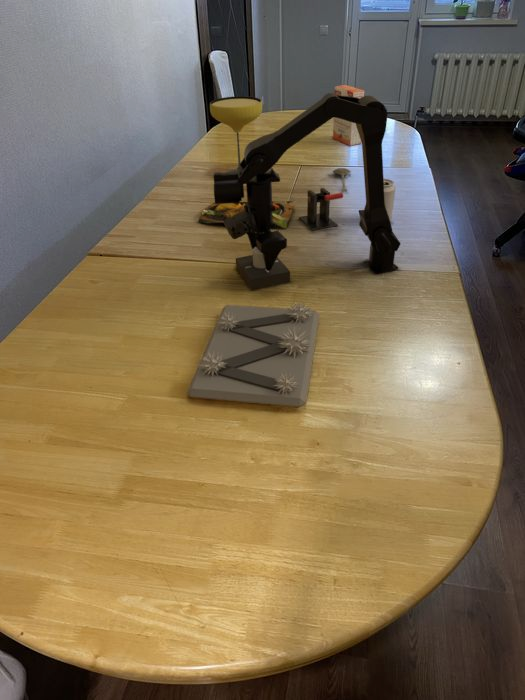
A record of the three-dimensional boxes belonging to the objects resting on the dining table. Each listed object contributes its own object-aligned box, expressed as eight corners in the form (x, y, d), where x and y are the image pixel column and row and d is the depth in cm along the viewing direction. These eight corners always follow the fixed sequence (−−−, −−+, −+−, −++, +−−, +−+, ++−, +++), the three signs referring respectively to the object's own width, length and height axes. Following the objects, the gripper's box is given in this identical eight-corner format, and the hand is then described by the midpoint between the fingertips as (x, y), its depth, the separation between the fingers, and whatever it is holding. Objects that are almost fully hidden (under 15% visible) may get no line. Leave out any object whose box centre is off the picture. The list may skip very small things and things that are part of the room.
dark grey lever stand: (337, 227, 151) (339, 195, 145) (312, 232, 149) (313, 199, 143) (322, 215, 159) (323, 184, 153) (298, 220, 157) (299, 188, 151)
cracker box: (331, 138, 226) (333, 86, 214) (343, 136, 228) (346, 84, 216) (349, 146, 216) (352, 91, 203) (361, 144, 218) (365, 89, 205)
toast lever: (343, 199, 140) (342, 190, 139) (327, 202, 139) (326, 193, 138) (324, 200, 151) (323, 192, 151) (309, 203, 150) (308, 194, 149)
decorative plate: (224, 311, 117) (221, 284, 112) (319, 318, 113) (320, 289, 109) (186, 401, 93) (181, 370, 89) (305, 412, 90) (305, 381, 85)
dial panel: (290, 282, 126) (290, 270, 124) (251, 290, 124) (250, 278, 122) (272, 261, 135) (272, 250, 134) (236, 268, 133) (235, 257, 131)
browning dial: (273, 266, 127) (273, 250, 124) (256, 269, 126) (255, 253, 123) (267, 258, 130) (266, 243, 127) (250, 262, 129) (249, 246, 126)
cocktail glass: (271, 178, 188) (270, 103, 173) (224, 186, 183) (218, 110, 168) (254, 164, 201) (251, 94, 186) (209, 171, 196) (203, 99, 181)
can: (391, 227, 150) (396, 186, 143) (365, 226, 151) (368, 185, 144) (391, 217, 156) (396, 177, 149) (366, 216, 157) (369, 176, 150)
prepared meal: (194, 213, 154) (214, 190, 168) (195, 224, 156) (215, 201, 170) (286, 223, 148) (299, 199, 162) (285, 234, 150) (298, 210, 164)
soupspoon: (350, 173, 190) (332, 174, 191) (350, 164, 189) (332, 165, 189) (354, 193, 172) (334, 194, 173) (354, 182, 171) (334, 184, 171)
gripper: (214, 193, 123) (220, 252, 133) (238, 221, 109) (243, 286, 118) (258, 185, 126) (260, 244, 135) (287, 212, 112) (288, 276, 121)
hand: (262, 262), depth 127 cm, fingers open, 9 cm apart
